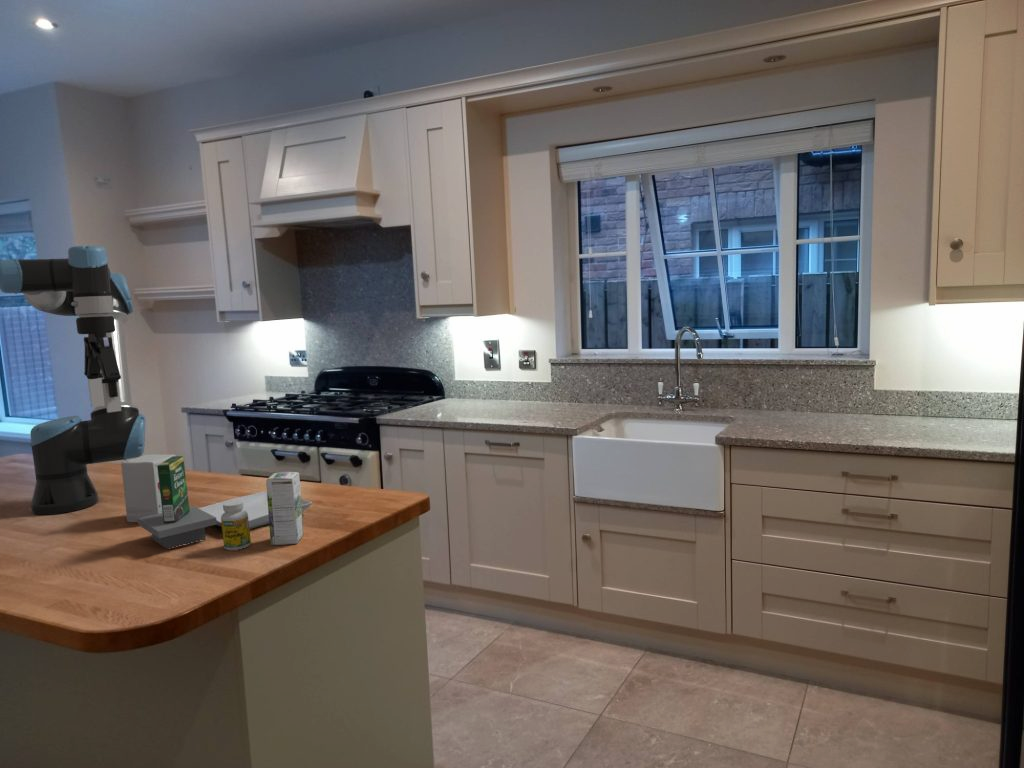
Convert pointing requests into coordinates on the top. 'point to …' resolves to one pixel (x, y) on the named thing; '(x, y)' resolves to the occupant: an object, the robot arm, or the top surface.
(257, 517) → the salad plate
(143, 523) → the grey stand
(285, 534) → the syrup box
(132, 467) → the supplement box
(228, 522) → the supplement bottle
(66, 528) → the top surface
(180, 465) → the coffee box
